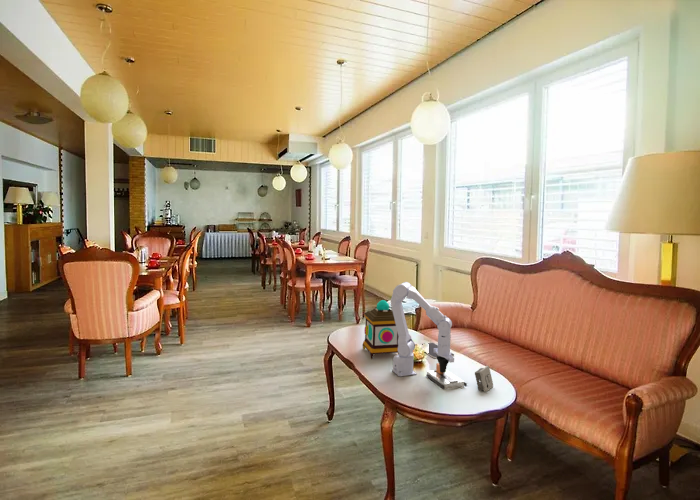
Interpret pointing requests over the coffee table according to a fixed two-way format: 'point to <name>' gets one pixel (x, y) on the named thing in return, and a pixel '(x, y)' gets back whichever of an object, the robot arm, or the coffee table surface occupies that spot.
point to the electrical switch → (484, 379)
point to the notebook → (431, 350)
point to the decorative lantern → (380, 330)
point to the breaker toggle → (438, 368)
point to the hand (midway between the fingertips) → (442, 372)
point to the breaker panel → (446, 379)
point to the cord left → (435, 381)
